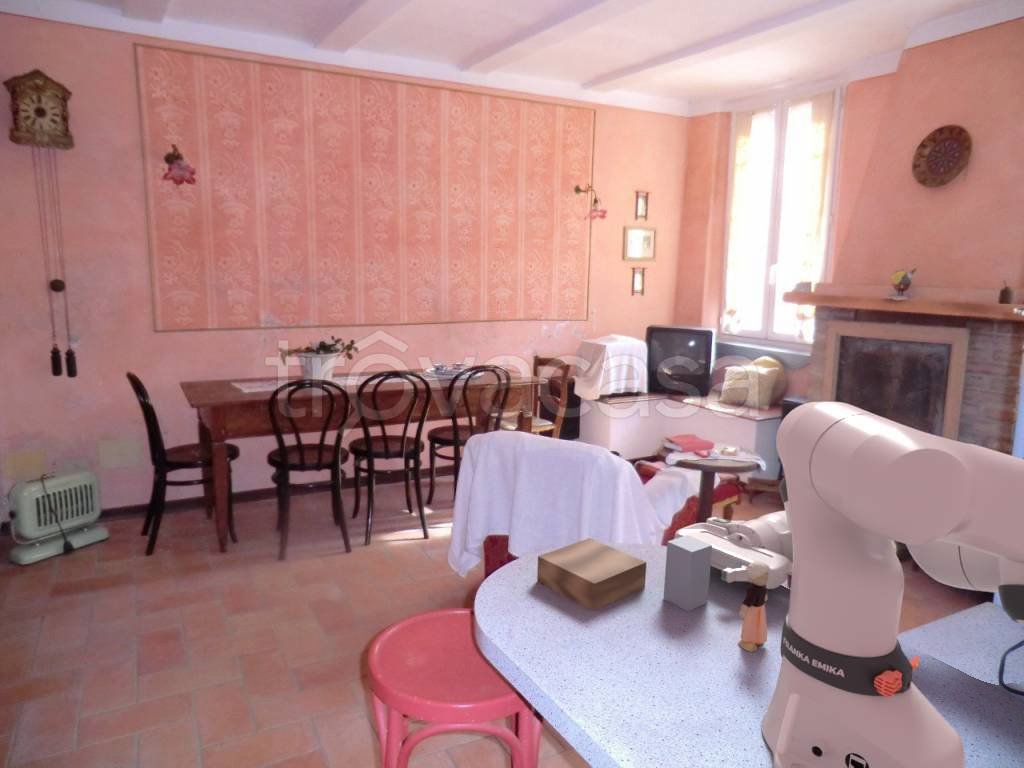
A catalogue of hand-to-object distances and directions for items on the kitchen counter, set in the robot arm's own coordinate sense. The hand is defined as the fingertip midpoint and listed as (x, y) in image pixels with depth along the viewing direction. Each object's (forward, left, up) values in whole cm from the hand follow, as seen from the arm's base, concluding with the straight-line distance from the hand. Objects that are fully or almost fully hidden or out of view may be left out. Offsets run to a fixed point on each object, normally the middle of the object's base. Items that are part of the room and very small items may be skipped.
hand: (700, 566), depth 114 cm
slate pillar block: (0, +4, -5) cm, 6 cm away
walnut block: (+13, +13, -5) cm, 19 cm away
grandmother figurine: (-14, +6, -5) cm, 16 cm away
